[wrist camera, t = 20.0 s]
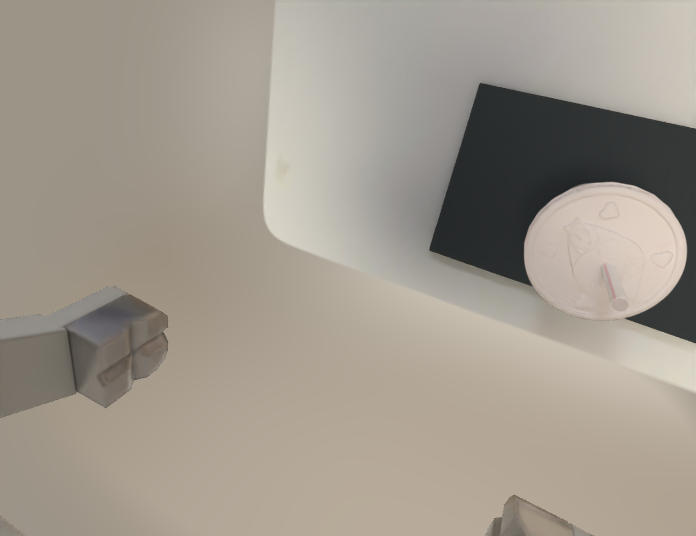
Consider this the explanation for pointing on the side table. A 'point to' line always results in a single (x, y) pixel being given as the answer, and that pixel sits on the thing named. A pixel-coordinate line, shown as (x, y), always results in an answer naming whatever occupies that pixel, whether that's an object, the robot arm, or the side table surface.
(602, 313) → the smoothie
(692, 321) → the mat
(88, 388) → the robot arm
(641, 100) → the side table surface
